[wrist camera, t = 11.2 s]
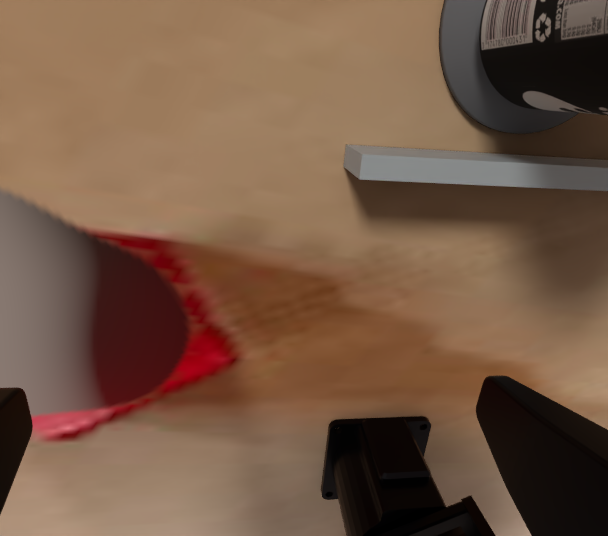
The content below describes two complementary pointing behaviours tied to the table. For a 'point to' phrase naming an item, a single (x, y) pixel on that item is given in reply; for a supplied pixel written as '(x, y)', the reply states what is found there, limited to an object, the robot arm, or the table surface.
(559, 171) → the low wall
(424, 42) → the table surface
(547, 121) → the coaster mat
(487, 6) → the beverage can
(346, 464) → the robot arm
